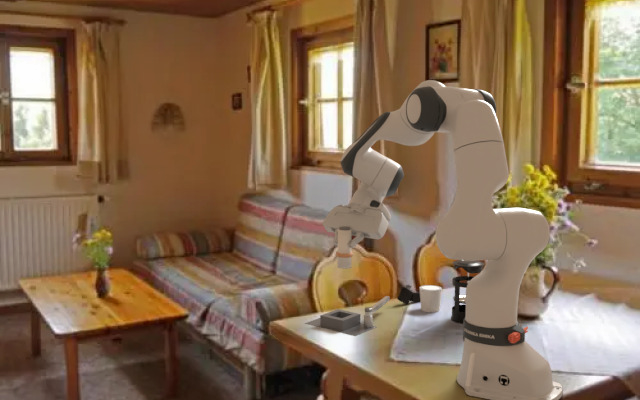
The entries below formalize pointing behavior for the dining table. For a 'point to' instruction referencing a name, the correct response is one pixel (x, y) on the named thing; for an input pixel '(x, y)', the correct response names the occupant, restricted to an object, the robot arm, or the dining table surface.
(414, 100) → the robot arm
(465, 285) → the french press
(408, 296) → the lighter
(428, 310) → the white cup
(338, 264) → the plug
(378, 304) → the ball-tipped lever
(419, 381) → the dining table surface
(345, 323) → the socket block
